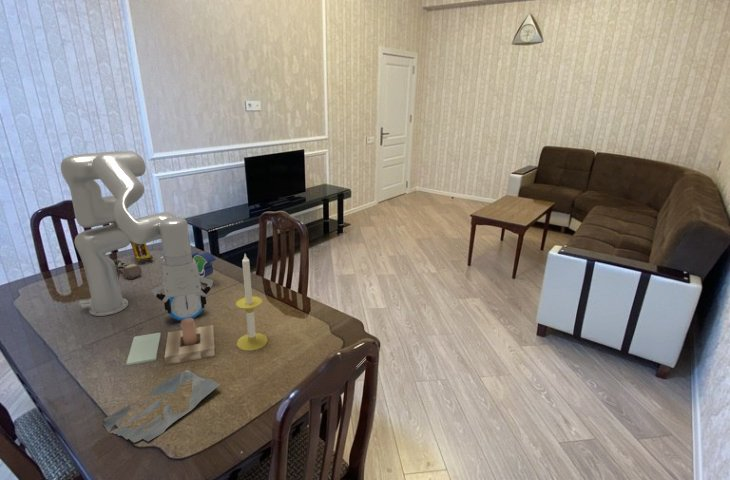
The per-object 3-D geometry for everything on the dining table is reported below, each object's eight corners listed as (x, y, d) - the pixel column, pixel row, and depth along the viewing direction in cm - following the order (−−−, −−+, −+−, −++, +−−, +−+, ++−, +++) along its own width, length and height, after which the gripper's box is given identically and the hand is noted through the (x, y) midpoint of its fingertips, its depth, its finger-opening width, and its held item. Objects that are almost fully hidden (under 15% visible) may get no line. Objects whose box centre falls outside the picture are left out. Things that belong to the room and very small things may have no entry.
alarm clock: (170, 326, 139) (164, 288, 134) (166, 318, 143) (160, 281, 138) (207, 315, 147) (203, 279, 141) (202, 308, 151) (198, 273, 146)
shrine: (129, 260, 192) (123, 231, 187) (146, 255, 198) (141, 227, 193) (140, 266, 185) (134, 237, 180) (157, 261, 191) (152, 232, 186)
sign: (168, 274, 184) (162, 247, 181) (176, 271, 187) (170, 245, 184) (212, 286, 164) (206, 256, 161) (220, 283, 167) (214, 253, 164)
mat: (126, 365, 118) (126, 363, 118) (134, 338, 131) (134, 336, 131) (156, 360, 121) (155, 358, 121) (160, 334, 134) (160, 332, 134)
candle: (241, 354, 125) (232, 261, 114) (233, 338, 133) (224, 250, 122) (271, 345, 130) (266, 255, 119) (262, 330, 138) (256, 245, 127)
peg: (184, 352, 125) (180, 325, 122) (185, 345, 128) (181, 319, 125) (198, 350, 126) (194, 323, 123) (198, 343, 130) (194, 317, 126)
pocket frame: (165, 365, 119) (164, 357, 118) (169, 340, 131) (168, 332, 130) (214, 356, 124) (213, 348, 123) (213, 332, 136) (212, 325, 135)
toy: (128, 256, 183) (139, 258, 173) (133, 272, 185) (144, 275, 175) (111, 260, 178) (122, 262, 168) (116, 277, 180) (127, 280, 170)
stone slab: (136, 458, 90) (133, 451, 89) (101, 429, 98) (98, 422, 97) (221, 390, 109) (220, 384, 108) (186, 371, 117) (184, 364, 116)
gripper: (144, 267, 110) (154, 319, 116) (209, 259, 116) (216, 309, 122) (147, 257, 117) (157, 308, 122) (209, 250, 123) (215, 299, 128)
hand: (186, 309), depth 122 cm, fingers open, 9 cm apart
